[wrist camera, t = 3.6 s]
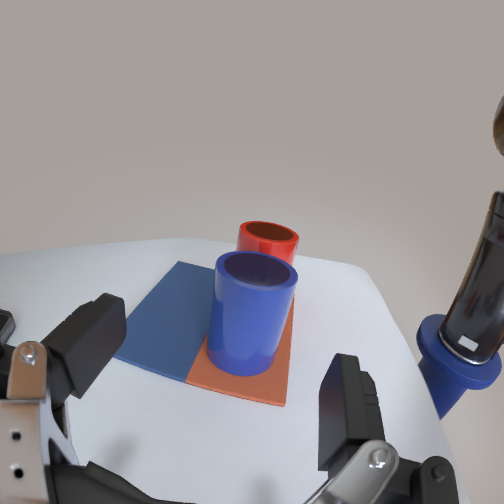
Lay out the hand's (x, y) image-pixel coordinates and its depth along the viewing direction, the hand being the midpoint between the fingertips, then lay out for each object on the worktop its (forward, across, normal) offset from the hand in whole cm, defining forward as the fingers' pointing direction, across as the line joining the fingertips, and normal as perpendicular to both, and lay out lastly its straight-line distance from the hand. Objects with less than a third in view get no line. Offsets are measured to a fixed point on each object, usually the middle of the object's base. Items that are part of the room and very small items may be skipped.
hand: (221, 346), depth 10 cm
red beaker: (+21, 0, +11) cm, 23 cm away
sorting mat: (+16, +3, +11) cm, 20 cm away
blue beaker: (+12, 0, +11) cm, 16 cm away
